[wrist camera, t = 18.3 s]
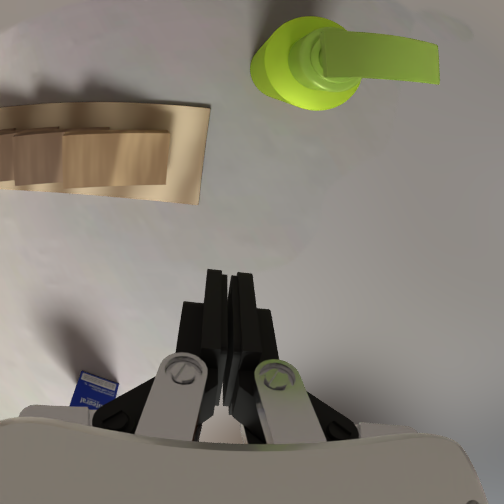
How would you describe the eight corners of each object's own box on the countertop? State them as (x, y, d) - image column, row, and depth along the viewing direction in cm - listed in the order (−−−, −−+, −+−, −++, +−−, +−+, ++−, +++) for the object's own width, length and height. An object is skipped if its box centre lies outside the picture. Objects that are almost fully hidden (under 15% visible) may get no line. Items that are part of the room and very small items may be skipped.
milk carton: (79, 390, 49) (52, 484, 31) (80, 369, 46) (48, 473, 28) (115, 402, 50) (96, 499, 33) (120, 383, 48) (97, 490, 30)
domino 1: (59, 171, 30) (-18, 178, 26) (59, 126, 27) (-21, 135, 23) (56, 176, 28) (-24, 184, 24) (56, 129, 26) (-27, 139, 22)
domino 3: (162, 178, 31) (65, 182, 27) (167, 129, 29) (65, 131, 25) (165, 184, 30) (63, 188, 26) (170, 133, 27) (62, 135, 23)
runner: (-18, 187, 29) (-19, 188, 29) (-22, 110, 25) (-24, 111, 24) (198, 203, 33) (198, 205, 33) (210, 108, 29) (210, 108, 28)
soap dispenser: (323, 97, 29) (446, 130, 11) (253, 101, 29) (291, 131, 11) (319, 41, 26) (440, 2, 8) (247, 43, 26) (276, -18, 8)
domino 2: (107, 174, 31) (19, 179, 26) (109, 126, 28) (17, 132, 24) (107, 179, 29) (14, 186, 25) (109, 129, 27) (12, 136, 22)
